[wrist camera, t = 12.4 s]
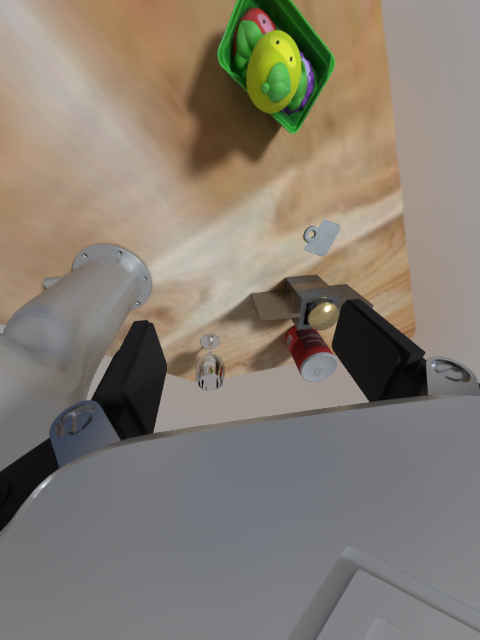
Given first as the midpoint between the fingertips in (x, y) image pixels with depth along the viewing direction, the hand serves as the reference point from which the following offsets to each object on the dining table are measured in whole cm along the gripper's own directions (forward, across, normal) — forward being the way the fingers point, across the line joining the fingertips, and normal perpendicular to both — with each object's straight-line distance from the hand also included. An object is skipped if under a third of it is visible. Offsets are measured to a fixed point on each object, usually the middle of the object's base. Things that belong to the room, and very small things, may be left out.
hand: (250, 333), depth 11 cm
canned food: (+31, -17, +26) cm, 44 cm away
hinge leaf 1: (+30, -11, +14) cm, 35 cm away
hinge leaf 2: (+30, -18, +14) cm, 38 cm away
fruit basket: (+31, -7, -16) cm, 35 cm away
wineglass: (+31, +5, +25) cm, 40 cm away
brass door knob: (+30, -16, +14) cm, 37 cm away
